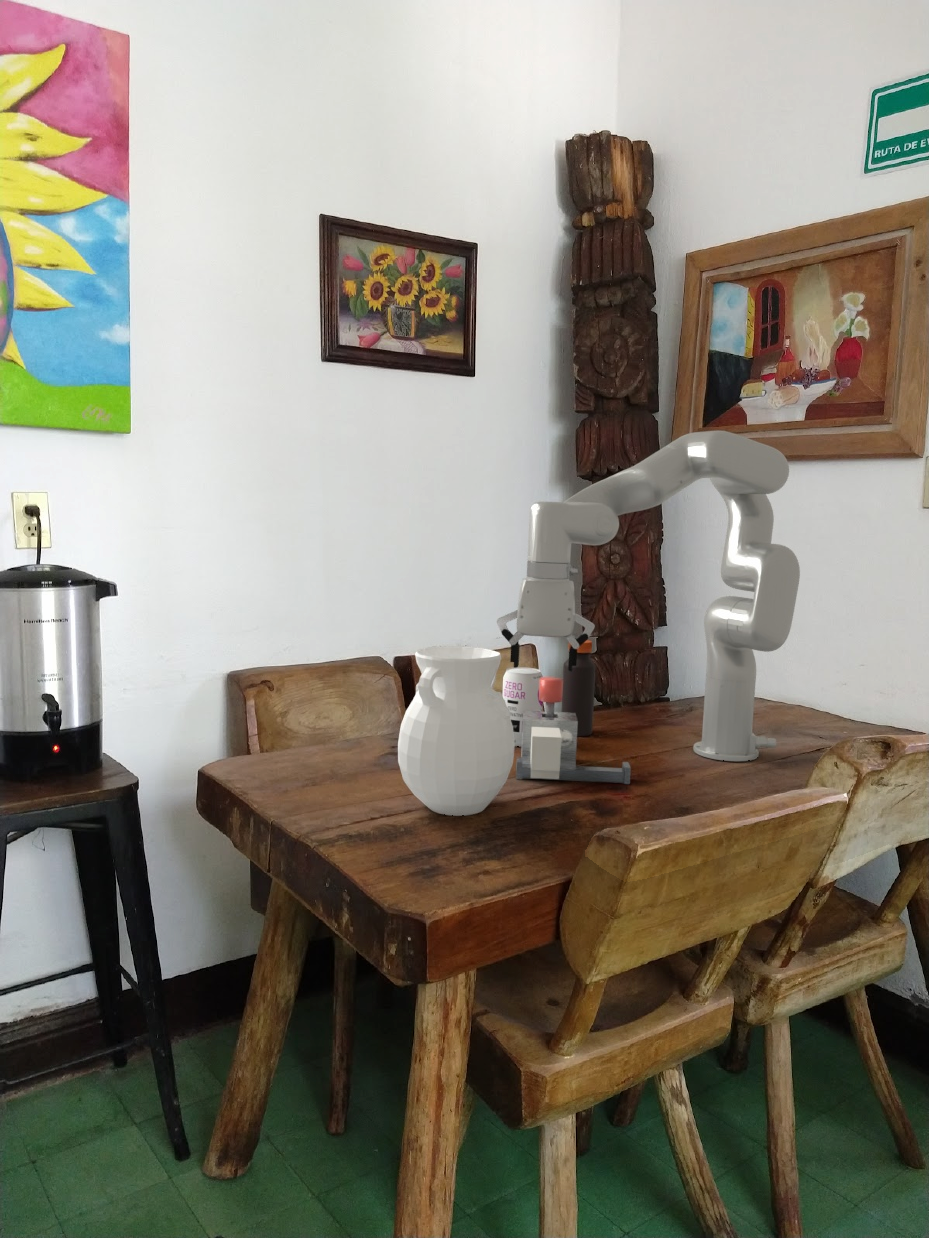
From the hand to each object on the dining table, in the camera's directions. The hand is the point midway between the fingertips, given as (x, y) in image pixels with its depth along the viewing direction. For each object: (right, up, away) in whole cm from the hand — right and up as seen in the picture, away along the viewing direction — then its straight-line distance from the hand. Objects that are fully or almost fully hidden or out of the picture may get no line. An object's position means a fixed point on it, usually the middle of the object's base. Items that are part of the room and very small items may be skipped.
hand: (543, 668), depth 164 cm
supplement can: (-2, -17, +25) cm, 30 cm away
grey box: (+2, -18, +11) cm, 21 cm away
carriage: (0, -20, +1) cm, 20 cm away
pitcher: (-16, -21, -16) cm, 31 cm away
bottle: (+10, -16, +34) cm, 39 cm away
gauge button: (+2, -9, +9) cm, 14 cm away
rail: (+5, -20, 0) cm, 20 cm away
